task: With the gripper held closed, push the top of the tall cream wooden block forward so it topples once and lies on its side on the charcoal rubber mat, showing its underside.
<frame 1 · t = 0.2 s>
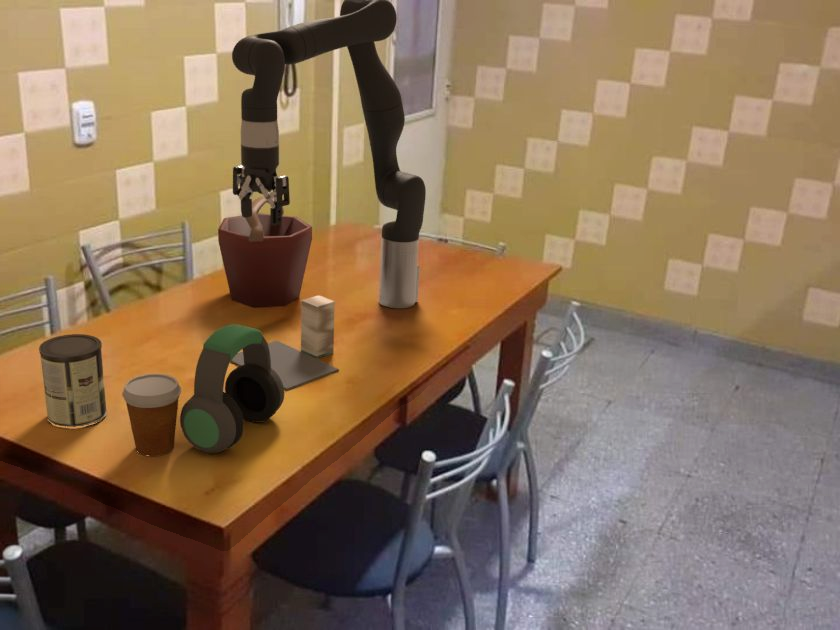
hand: (261, 220, 184), 29 cm above the table, fingers open, 8 cm apart
cream block: (317, 352, 195), on the table
coffee can: (77, 417, 162), on the table
headphones: (234, 434, 160), on the table
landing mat: (281, 364, 188), on the table
bucket: (262, 297, 225), on the table
disposable coffee cup: (155, 448, 153), on the table
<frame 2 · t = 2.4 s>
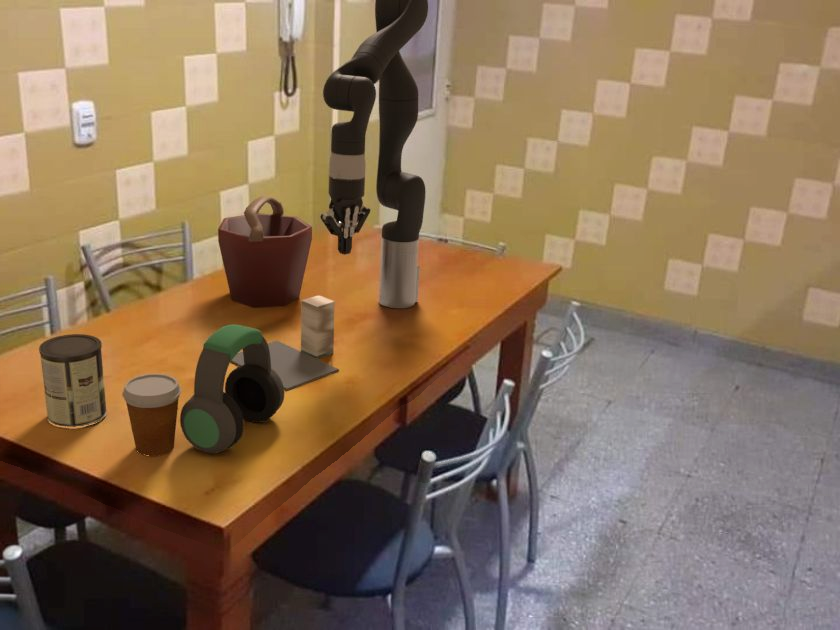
hand: (344, 253, 192), 21 cm above the table, fingers closed
nothing on the table moved.
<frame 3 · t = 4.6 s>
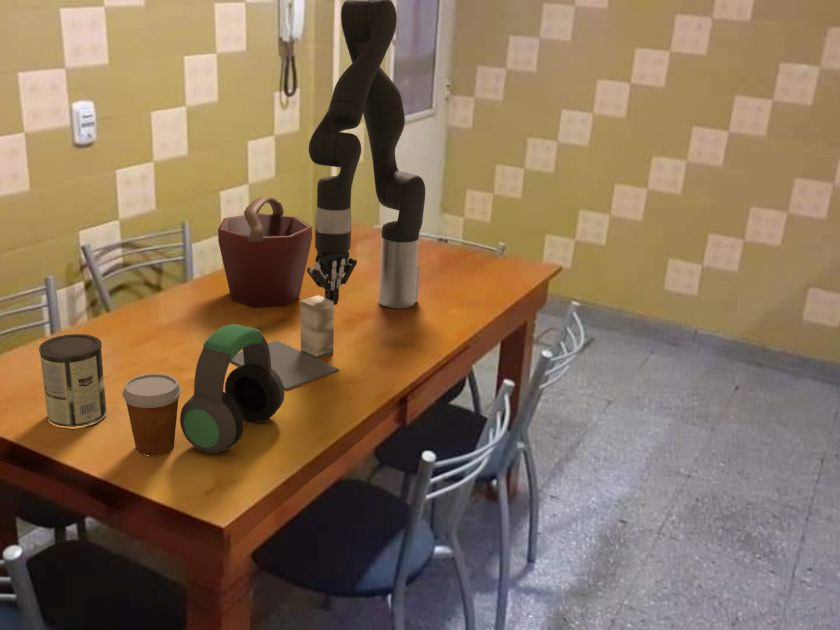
hand: (331, 304, 194), 10 cm above the table, fingers closed
cream block: (317, 352, 195), on the table, touching gripper
everything else where it was.
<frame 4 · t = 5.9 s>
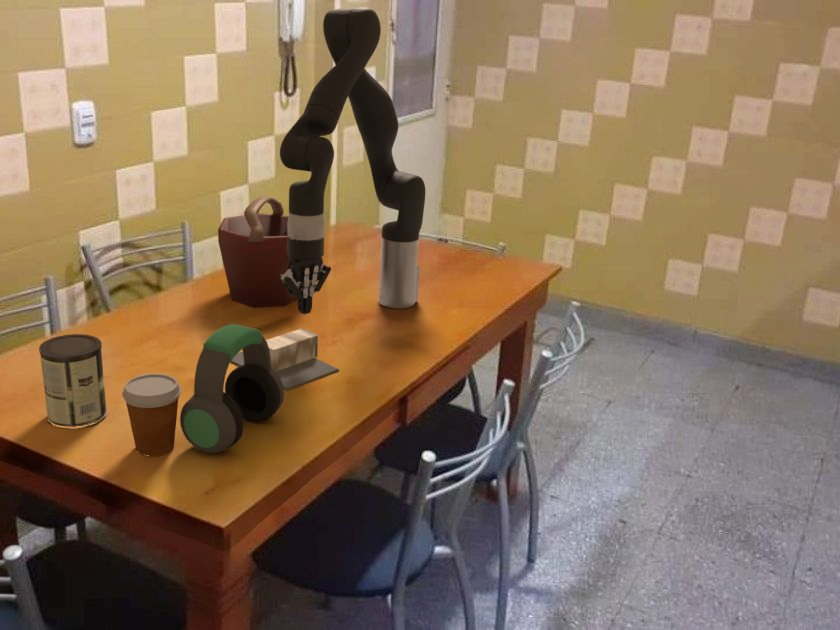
hand: (304, 312, 188), 10 cm above the table, fingers closed
cream block: (309, 342, 192), point 3 cm above the table, tilted 90°, touching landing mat
everything else where it was.
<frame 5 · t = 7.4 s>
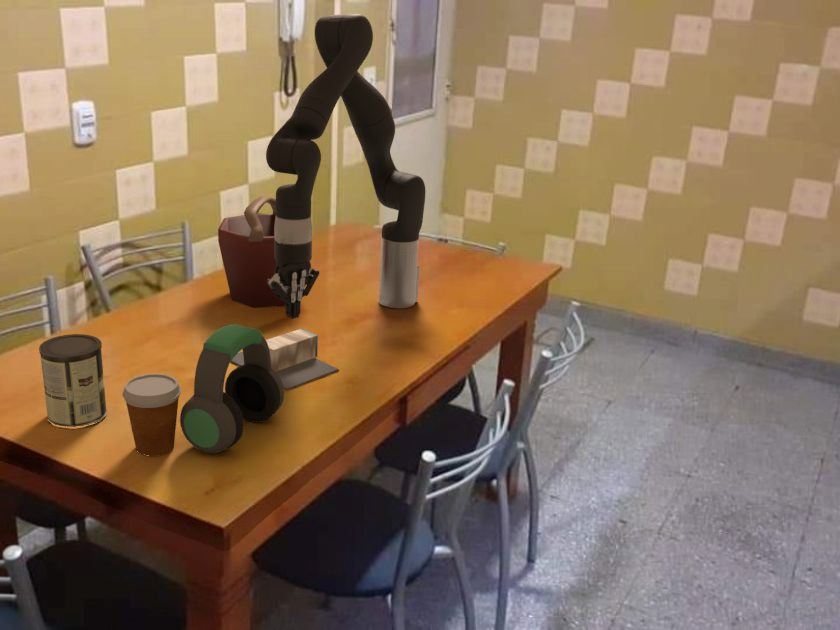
hand: (292, 317, 186), 10 cm above the table, fingers closed
nothing on the table moved.
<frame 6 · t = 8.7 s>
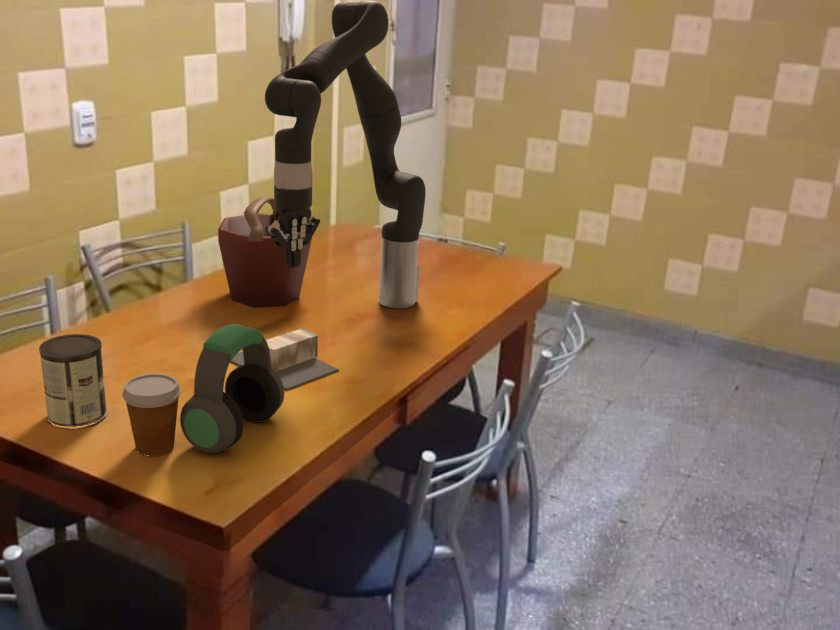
hand: (293, 266, 182), 21 cm above the table, fingers closed
nothing on the table moved.
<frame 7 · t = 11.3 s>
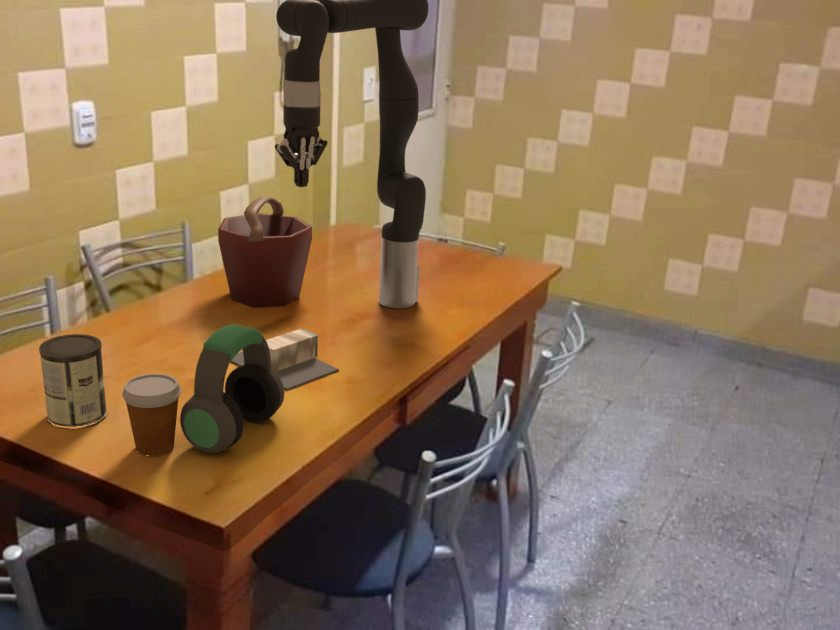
hand: (301, 186, 188), 35 cm above the table, fingers closed
nothing on the table moved.
at the end: cream block tilted 90°; cream block inside the target area (1.3 cm from its centre), point 2.9 cm above the table; cream block touching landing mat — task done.
